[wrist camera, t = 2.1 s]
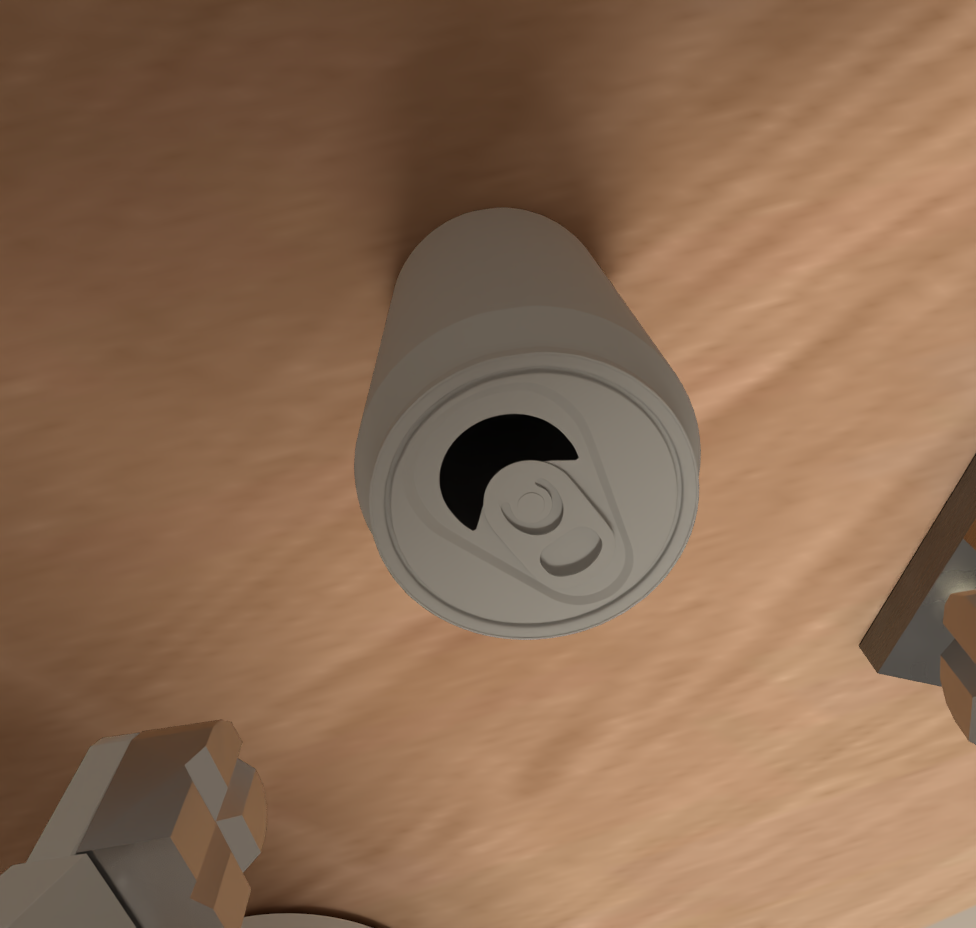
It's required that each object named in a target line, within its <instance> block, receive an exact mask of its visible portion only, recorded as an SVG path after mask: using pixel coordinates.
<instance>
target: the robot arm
mask: <svg viewBox="0 0 976 928" xmlns="http://www.w3.org/2000/svg"><path fill="white" fill-rule="evenodd" d="M943 624H944V625H945V627H946V628H947V629H948V630H949V632H950V633H951V634H952V635H953V637H954V638H955V639H954V640H953V641H952V642H951V643H950V645H949V646H948V647H947V648H946V649H945V650H944V652H943V653H942V654H941V659H940V680H941V684H942V688H943V692H944V696H945V700H946V704H947V706H948V708H949V710H950V712H951V714H952V716H953V718H954V720H955V722H956V723H957V725H958V726H959V728H960V729H961V731H962V732H963V733H964V735H965V736H966V738H967V739H968V741H970V742H972V743H974V744H975V745H976V589H975V590H969V591H964V592H958V593H953V594H950V596H949V598H948V599H947V601H946V603H945V606H944V617H943ZM241 745H242V740H241V738H240V737H239V735H238V733H237V731H236V729H235V727H234V726H233V724H232V722H229V721H225V720H215V721H208V722H202V723H195V724H188V725H181V726H174V727H168V728H161V729H154V730H147V731H142V732H141V733H133V734H126V735H119V736H112V737H105V738H102V739H100V740H99V741H97V742H96V743H95V744H93V745H92V746H90V748H89V750H88V751H87V753H86V755H85V757H84V759H83V760H82V762H81V764H80V766H79V768H78V769H77V771H76V773H75V775H74V777H73V778H72V780H71V782H70V784H69V786H68V787H67V789H66V791H65V793H64V795H63V796H62V798H61V800H60V802H59V804H58V806H57V807H56V809H55V811H54V813H53V815H52V816H51V818H50V820H49V822H48V824H47V825H46V827H45V829H44V831H43V833H42V834H41V836H40V838H39V840H38V842H37V843H36V845H35V847H34V849H33V851H32V852H31V854H30V856H29V858H28V860H27V861H26V863H22V864H17V865H12V866H11V867H10V868H8V869H7V870H6V871H5V872H4V873H3V874H1V875H0V928H372V927H369V926H366V925H363V924H359V923H356V922H352V921H348V920H344V919H339V918H335V917H328V916H321V915H313V914H295V913H281V914H264V915H255V916H248V917H244V915H245V911H246V907H247V904H248V900H249V896H250V892H251V887H250V885H249V884H248V882H247V880H246V878H245V876H244V874H243V872H244V871H245V870H246V869H247V868H248V867H249V866H250V864H251V863H252V862H253V861H254V860H255V859H256V858H257V856H258V855H259V854H260V853H261V850H262V846H263V842H264V838H265V834H266V830H267V801H266V797H265V792H264V788H263V784H262V782H261V779H260V777H259V775H258V773H257V771H256V769H255V768H253V767H251V766H250V765H248V764H246V763H245V762H243V761H241V760H240V759H238V755H239V752H240V749H241Z"/></svg>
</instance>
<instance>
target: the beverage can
mask: <svg viewBox="0 0 976 928" xmlns="http://www.w3.org/2000/svg"><path fill="white" fill-rule="evenodd" d="M700 455H701V449H700V436H699V430H698V424H697V420H696V417H695V413H694V410H693V407H692V405H691V402H690V399H689V397H688V395H687V393H686V391H685V389H684V387H683V385H682V383H681V382H680V380H679V378H678V377H677V375H676V374H675V372H674V371H673V369H672V368H671V367H670V365H669V364H668V362H667V361H666V360H665V358H664V357H663V355H662V354H661V353H660V351H659V350H658V348H657V347H656V345H655V344H654V343H653V341H652V340H651V338H650V337H649V336H648V334H647V333H646V331H645V330H644V329H643V327H642V326H641V324H640V323H639V322H638V320H637V319H636V317H635V316H634V315H633V313H632V312H631V310H630V309H629V308H628V306H627V305H626V303H625V302H624V301H623V299H622V298H621V296H620V295H619V294H618V292H617V291H616V289H615V288H614V286H613V285H612V284H611V282H610V281H609V279H608V278H607V277H606V275H605V274H604V272H603V271H602V270H601V268H600V267H599V265H598V264H597V263H596V261H595V260H594V258H593V257H592V256H591V254H590V253H589V251H588V250H587V249H586V247H585V246H584V245H583V244H582V243H581V242H580V241H579V240H578V239H577V238H576V237H575V236H574V235H573V234H572V233H571V232H569V231H568V230H567V229H566V228H564V227H563V226H561V225H560V224H558V223H557V222H555V221H553V220H551V219H549V218H547V217H545V216H543V215H540V214H537V213H534V212H530V211H527V210H522V209H515V208H505V207H501V208H491V209H484V210H478V211H473V212H468V213H465V214H463V215H460V216H458V217H455V218H453V219H451V220H449V221H447V222H445V223H444V224H442V225H441V226H439V227H438V228H436V229H435V230H433V231H432V232H431V233H430V234H429V235H427V236H426V237H425V238H424V239H423V240H422V241H421V242H420V243H419V244H418V245H417V247H416V248H415V249H414V250H413V252H412V253H411V254H410V256H409V257H408V259H407V260H406V262H405V263H404V265H403V267H402V269H401V272H400V274H399V276H398V279H397V281H396V284H395V288H394V292H393V296H392V300H391V304H390V308H389V312H388V316H387V320H386V324H385V328H384V332H383V336H382V340H381V344H380V348H379V352H378V356H377V360H376V364H375V368H374V372H373V376H372V380H371V385H370V389H369V393H368V397H367V401H366V405H365V409H364V413H363V417H362V421H361V425H360V429H359V433H358V438H357V442H356V448H355V462H354V474H355V483H356V490H357V496H358V500H359V504H360V507H361V510H362V513H363V516H364V519H365V521H366V523H367V526H368V528H369V530H370V531H371V533H372V535H373V537H374V540H375V543H376V546H377V549H378V551H379V554H380V556H381V558H382V560H383V562H384V564H385V565H386V567H387V569H388V570H389V572H390V574H391V575H392V577H393V578H394V579H395V580H396V582H397V583H398V584H399V585H400V586H401V587H402V589H403V590H404V591H405V592H406V593H407V594H408V595H409V596H410V597H411V598H412V599H414V600H415V601H416V602H417V603H418V604H420V605H421V606H422V607H424V608H425V609H426V610H428V611H429V612H431V613H432V614H434V615H436V616H437V617H439V618H441V619H443V620H445V621H447V622H449V623H450V624H453V625H455V626H458V627H460V628H462V629H465V630H468V631H471V632H474V633H478V634H482V635H486V636H492V637H497V638H505V639H518V640H534V639H547V638H555V637H560V636H566V635H570V634H575V633H578V632H582V631H585V630H588V629H590V628H593V627H596V626H598V625H601V624H603V623H605V622H607V621H609V620H611V619H613V618H615V617H617V616H619V615H621V614H623V613H624V612H626V611H627V610H629V609H630V608H632V607H633V606H635V605H636V604H637V603H639V602H640V601H641V600H643V599H644V598H645V597H646V596H648V595H649V594H650V593H651V592H652V591H653V590H654V589H655V588H656V587H657V586H658V585H659V584H660V583H661V582H662V581H663V580H664V578H665V577H666V576H667V575H668V573H669V572H670V571H671V569H672V568H673V567H674V565H675V564H676V562H677V561H678V559H679V558H680V556H681V554H682V552H683V550H684V548H685V547H686V544H687V542H688V540H689V537H690V535H691V532H692V529H693V526H694V523H695V518H696V514H697V509H698V501H699V470H700Z"/></svg>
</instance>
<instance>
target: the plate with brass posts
mask: <svg viewBox="0 0 976 928" xmlns="http://www.w3.org/2000/svg"><path fill="white" fill-rule="evenodd" d="M975 589H976V456H975V457H974V459H973V461H972V462H971V464H970V466H969V467H968V469H967V470H966V472H965V474H964V475H963V477H962V479H961V480H960V482H959V484H958V485H957V487H956V488H955V490H954V492H953V493H952V495H951V497H950V498H949V500H948V502H947V503H946V505H945V506H944V508H943V510H942V511H941V513H940V515H939V516H938V518H937V520H936V521H935V523H934V524H933V526H932V528H931V529H930V531H929V533H928V534H927V536H926V538H925V539H924V541H923V542H922V544H921V546H920V547H919V549H918V551H917V552H916V554H915V556H914V557H913V559H912V560H911V562H910V564H909V565H908V567H907V569H906V570H905V572H904V574H903V575H902V577H901V578H900V580H899V582H898V583H897V585H896V587H895V588H894V590H893V592H892V593H891V595H890V596H889V598H888V600H887V601H886V603H885V605H884V606H883V608H882V610H881V611H880V613H879V614H878V616H877V618H876V619H875V621H874V623H873V624H872V626H871V628H870V629H869V631H868V632H867V634H866V636H865V637H864V639H863V641H862V642H861V644H860V646H859V647H860V649H861V650H862V652H863V653H864V654H865V656H866V657H867V659H868V660H869V662H870V663H871V665H872V666H873V667H874V669H875V670H876V672H877V673H879V674H884V675H889V676H893V677H898V678H903V679H908V680H913V681H917V682H922V683H927V684H932V685H937V686H942V684H941V680H940V659H941V654H942V653H943V652H944V650H945V649H946V648H947V647H948V646H949V645H950V643H951V642H952V641H953V640H954V639H955V638H954V637H953V635H952V634H951V633H950V632H949V630H948V629H947V628H946V627H945V625H944V624H943V617H944V606H945V603H946V601H947V599H948V598H949V596H950V594H953V593H958V592H964V591H969V590H975Z"/></svg>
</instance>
